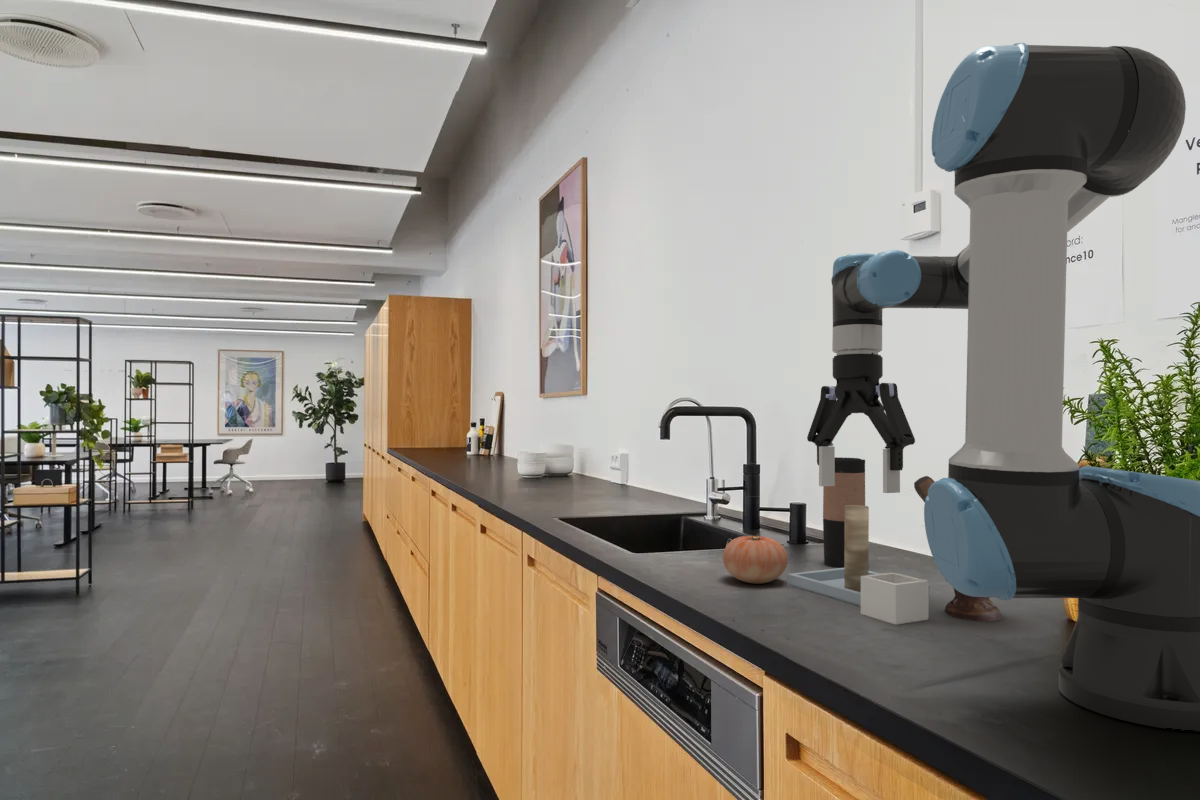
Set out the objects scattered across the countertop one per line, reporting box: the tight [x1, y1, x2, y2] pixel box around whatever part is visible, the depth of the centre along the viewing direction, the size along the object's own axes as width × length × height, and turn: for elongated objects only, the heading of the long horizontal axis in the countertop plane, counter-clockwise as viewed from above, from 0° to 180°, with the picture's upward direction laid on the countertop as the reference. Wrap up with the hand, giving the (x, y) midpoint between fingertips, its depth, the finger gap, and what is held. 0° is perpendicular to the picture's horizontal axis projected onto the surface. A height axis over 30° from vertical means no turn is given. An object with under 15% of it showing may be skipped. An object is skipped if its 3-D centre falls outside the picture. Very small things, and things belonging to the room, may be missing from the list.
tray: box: [786, 567, 881, 608], centre depth 125 cm, size 16×14×2 cm
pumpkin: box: [722, 533, 789, 585], centre depth 135 cm, size 11×11×8 cm
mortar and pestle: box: [913, 475, 1003, 622], centre depth 111 cm, size 12×9×20 cm
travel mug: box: [822, 456, 866, 568], centre depth 151 cm, size 8×8×20 cm
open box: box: [860, 571, 930, 626], centre depth 110 cm, size 6×6×6 cm
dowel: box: [844, 505, 870, 592], centre depth 125 cm, size 4×4×13 cm
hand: (857, 489), depth 125 cm, fingers open, 13 cm apart
